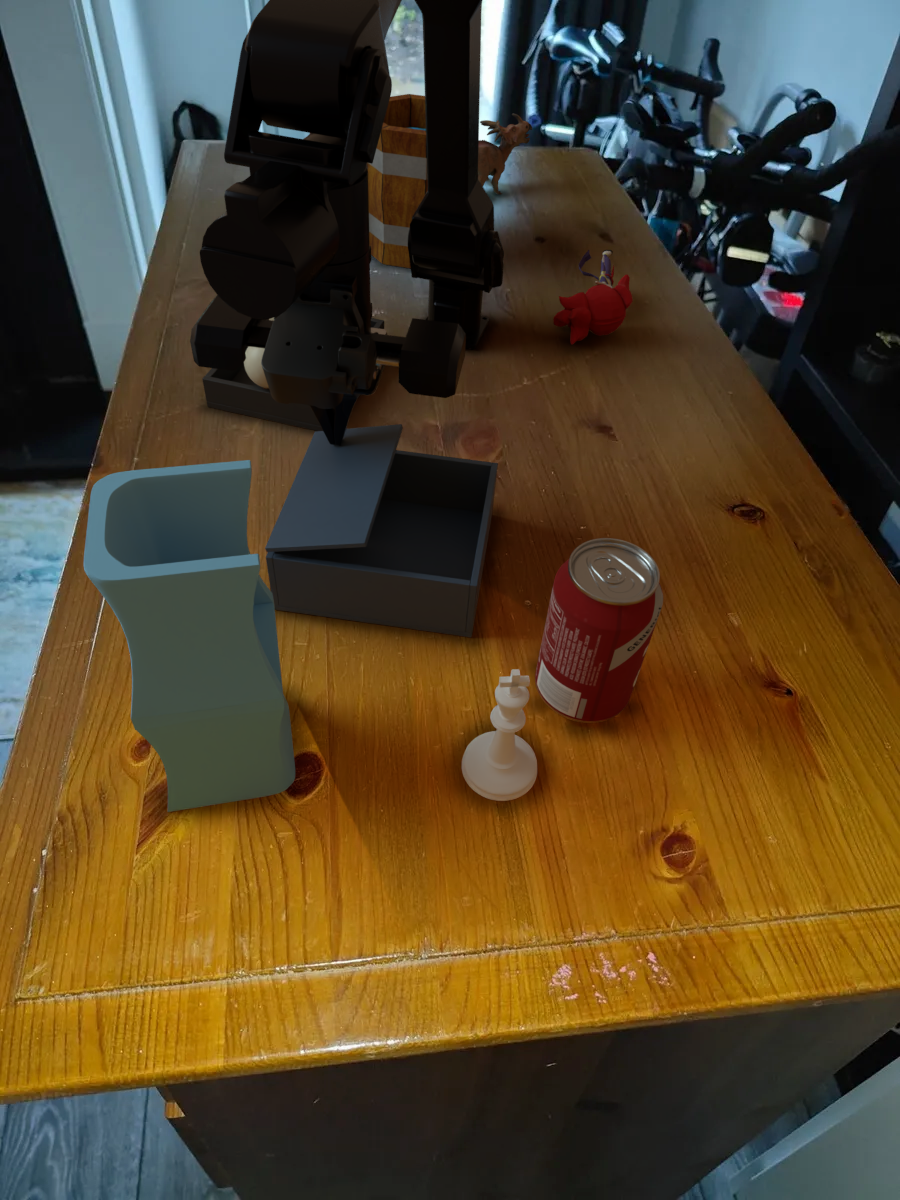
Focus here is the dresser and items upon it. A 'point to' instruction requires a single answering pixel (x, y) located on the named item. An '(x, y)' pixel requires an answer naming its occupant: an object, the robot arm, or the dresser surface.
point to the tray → (257, 396)
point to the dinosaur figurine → (499, 149)
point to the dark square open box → (403, 553)
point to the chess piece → (503, 746)
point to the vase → (194, 628)
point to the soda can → (598, 629)
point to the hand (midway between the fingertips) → (336, 442)
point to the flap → (336, 491)
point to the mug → (397, 178)
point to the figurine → (596, 303)
